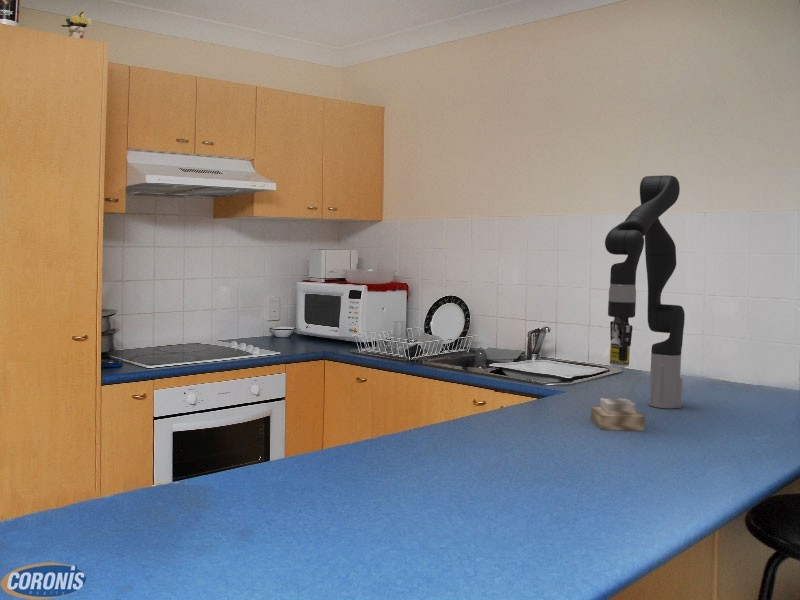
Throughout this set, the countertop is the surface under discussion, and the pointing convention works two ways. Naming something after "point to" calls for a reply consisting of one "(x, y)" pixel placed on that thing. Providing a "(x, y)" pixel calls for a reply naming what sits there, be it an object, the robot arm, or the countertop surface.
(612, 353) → the supplement bottle
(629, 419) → the tower base
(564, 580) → the countertop surface
